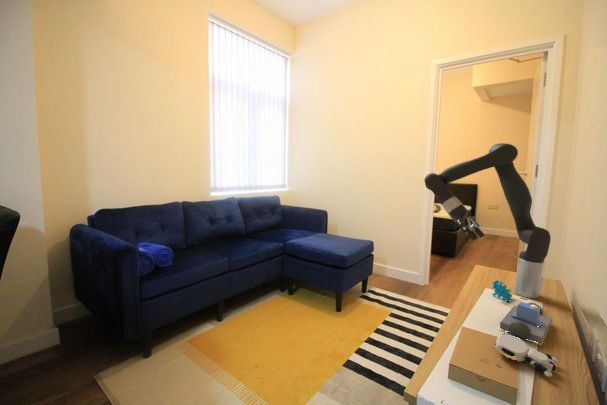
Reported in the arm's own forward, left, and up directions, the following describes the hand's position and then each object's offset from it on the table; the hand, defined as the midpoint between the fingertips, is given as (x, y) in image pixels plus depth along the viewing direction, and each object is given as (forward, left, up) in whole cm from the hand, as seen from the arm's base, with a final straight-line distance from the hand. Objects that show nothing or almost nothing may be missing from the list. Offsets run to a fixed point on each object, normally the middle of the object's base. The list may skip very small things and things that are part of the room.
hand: (479, 238), depth 124 cm
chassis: (-3, +23, -29) cm, 37 cm away
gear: (-15, +1, -29) cm, 33 cm away
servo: (-3, +23, -28) cm, 36 cm away
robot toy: (+16, +38, -29) cm, 51 cm away
